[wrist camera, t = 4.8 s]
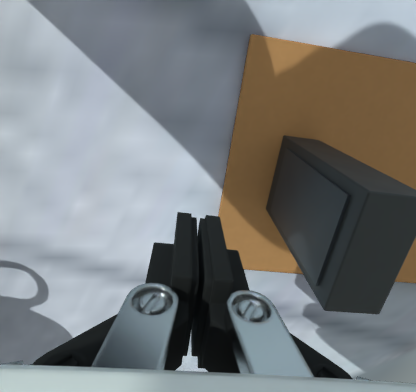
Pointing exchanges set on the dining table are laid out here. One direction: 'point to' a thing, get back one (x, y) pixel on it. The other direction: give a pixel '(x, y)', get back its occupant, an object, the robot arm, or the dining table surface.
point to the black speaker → (341, 223)
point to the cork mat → (312, 133)
